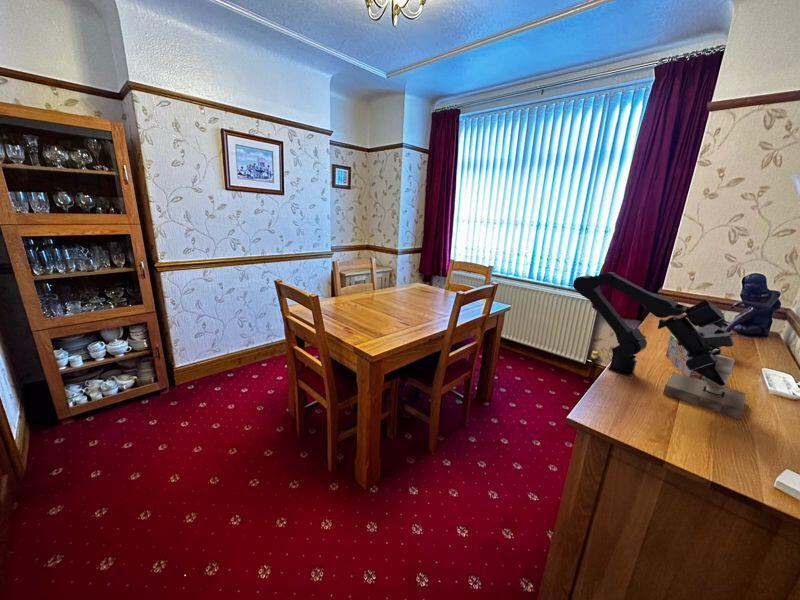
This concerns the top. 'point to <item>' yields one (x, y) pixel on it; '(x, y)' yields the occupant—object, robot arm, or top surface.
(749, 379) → the top surface
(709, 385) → the ash peg
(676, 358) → the stack of blocks
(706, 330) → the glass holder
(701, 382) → the gray slotted board
